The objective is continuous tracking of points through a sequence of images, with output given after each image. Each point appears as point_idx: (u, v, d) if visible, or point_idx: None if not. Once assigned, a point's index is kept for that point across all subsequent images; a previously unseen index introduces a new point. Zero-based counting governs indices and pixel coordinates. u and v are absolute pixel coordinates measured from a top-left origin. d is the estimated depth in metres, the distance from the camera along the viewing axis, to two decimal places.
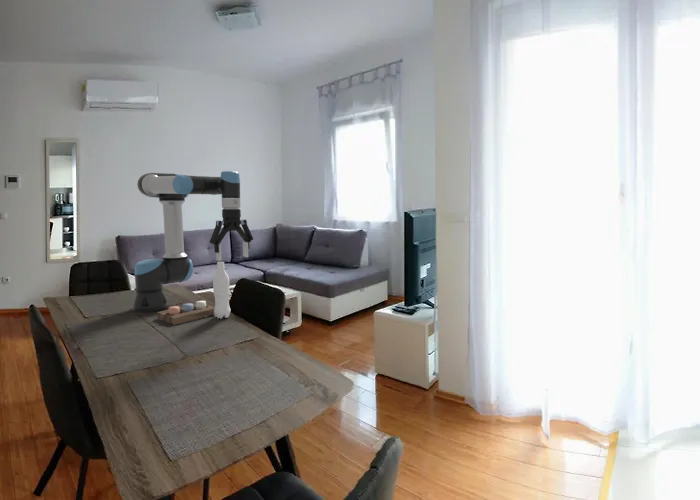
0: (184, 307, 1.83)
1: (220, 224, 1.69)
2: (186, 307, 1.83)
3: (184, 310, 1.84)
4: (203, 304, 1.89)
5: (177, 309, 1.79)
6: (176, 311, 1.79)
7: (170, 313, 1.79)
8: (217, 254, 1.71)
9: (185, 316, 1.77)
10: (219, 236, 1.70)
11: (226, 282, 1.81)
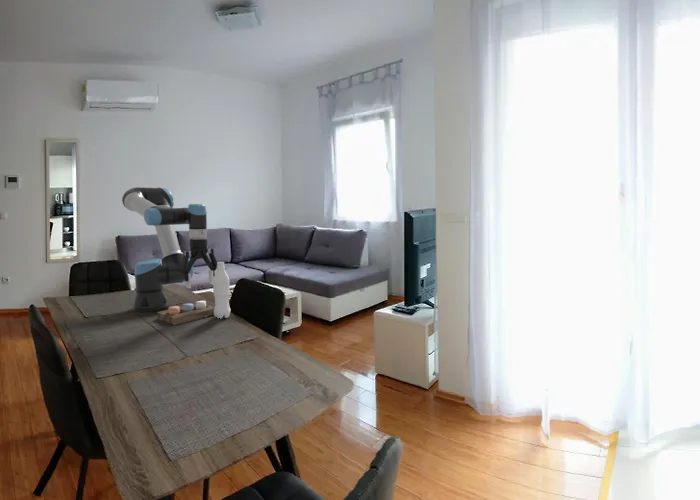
0: (184, 307, 1.83)
1: (187, 254, 1.82)
2: (186, 307, 1.83)
3: (184, 310, 1.84)
4: (203, 304, 1.89)
5: (177, 309, 1.79)
6: (176, 311, 1.79)
7: (170, 313, 1.79)
8: (187, 282, 1.85)
9: (185, 316, 1.77)
10: (188, 265, 1.84)
11: (226, 282, 1.81)
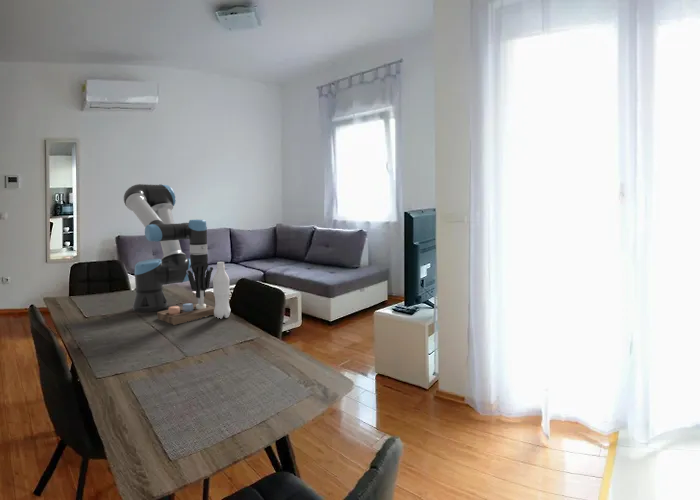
0: (184, 307, 1.83)
1: (190, 273, 1.84)
2: (186, 307, 1.83)
3: (184, 310, 1.84)
4: (203, 307, 1.89)
5: (177, 309, 1.79)
6: (176, 311, 1.79)
7: (170, 313, 1.79)
8: (198, 299, 1.90)
9: (185, 316, 1.77)
10: (196, 283, 1.88)
11: (226, 282, 1.81)
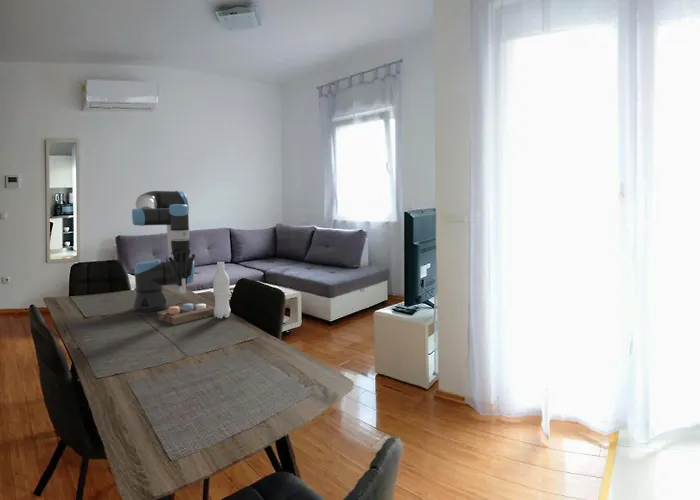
0: (184, 307, 1.83)
1: (171, 260, 1.76)
2: (186, 307, 1.83)
3: (184, 310, 1.84)
4: (203, 307, 1.89)
5: (177, 309, 1.79)
6: (176, 311, 1.79)
7: (170, 313, 1.79)
8: (180, 287, 1.82)
9: (185, 316, 1.77)
10: (177, 270, 1.80)
11: (226, 282, 1.81)
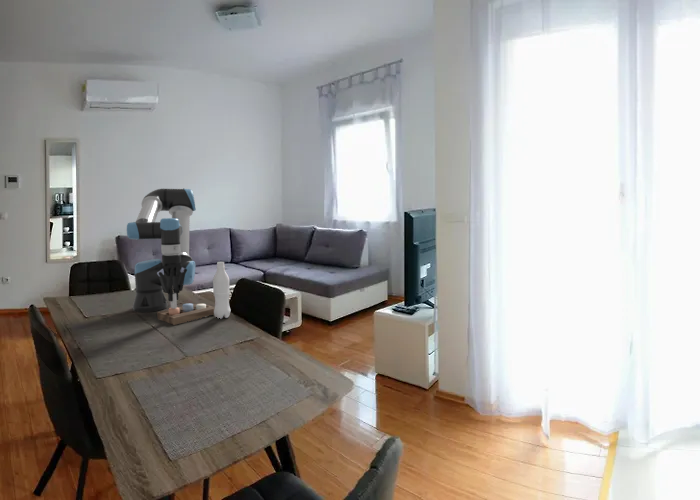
0: (184, 307, 1.83)
1: (161, 275, 1.74)
2: (186, 307, 1.83)
3: (184, 310, 1.84)
4: (203, 307, 1.89)
5: (177, 310, 1.79)
6: (176, 312, 1.79)
7: (170, 314, 1.79)
8: (171, 302, 1.79)
9: (185, 316, 1.77)
10: (168, 285, 1.77)
11: (226, 282, 1.81)
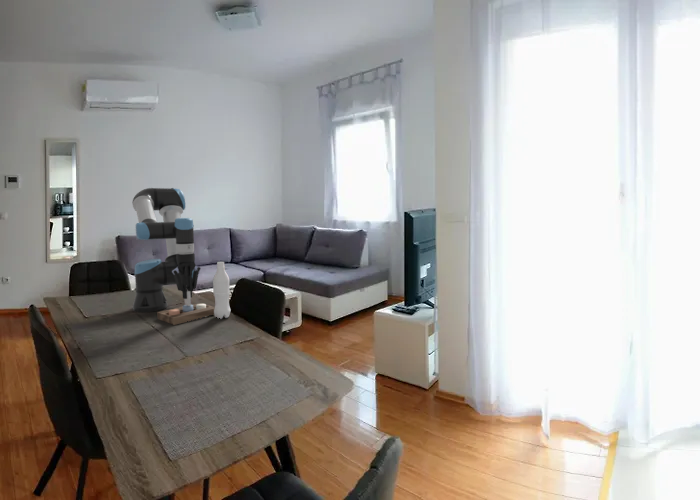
0: (184, 308, 1.83)
1: (176, 273, 1.79)
2: (186, 308, 1.83)
3: (184, 311, 1.84)
4: (203, 307, 1.89)
5: (177, 312, 1.80)
6: None
7: None
8: (185, 300, 1.84)
9: (185, 316, 1.77)
10: (182, 283, 1.82)
11: (226, 282, 1.81)
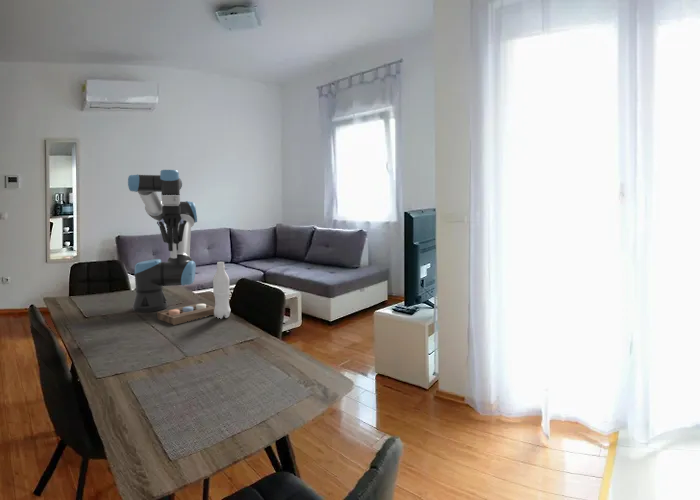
0: (184, 310, 1.84)
1: (162, 224, 1.79)
2: (186, 310, 1.83)
3: None
4: (203, 307, 1.89)
5: (177, 312, 1.80)
6: None
7: None
8: (171, 252, 1.85)
9: (185, 316, 1.77)
10: (168, 235, 1.83)
11: (226, 282, 1.81)
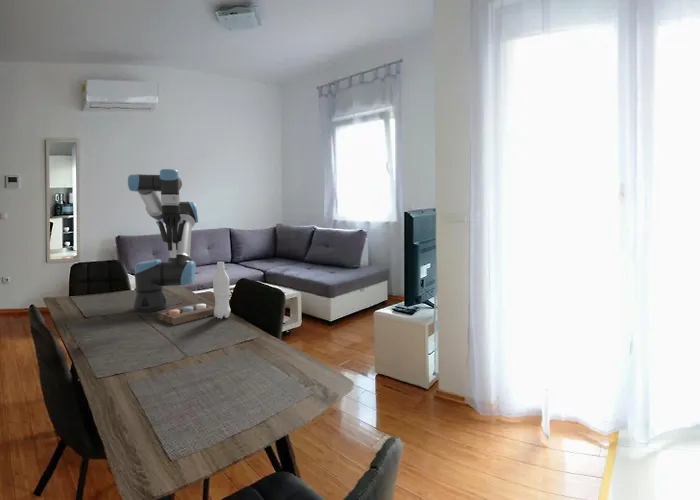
0: (184, 310, 1.84)
1: (161, 224, 1.79)
2: (186, 310, 1.83)
3: None
4: (203, 307, 1.89)
5: (177, 312, 1.80)
6: None
7: None
8: (170, 252, 1.85)
9: (185, 316, 1.77)
10: (168, 235, 1.83)
11: (226, 282, 1.81)
